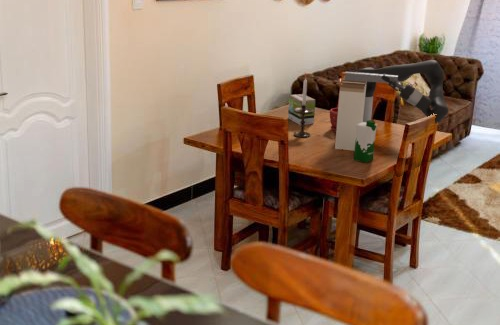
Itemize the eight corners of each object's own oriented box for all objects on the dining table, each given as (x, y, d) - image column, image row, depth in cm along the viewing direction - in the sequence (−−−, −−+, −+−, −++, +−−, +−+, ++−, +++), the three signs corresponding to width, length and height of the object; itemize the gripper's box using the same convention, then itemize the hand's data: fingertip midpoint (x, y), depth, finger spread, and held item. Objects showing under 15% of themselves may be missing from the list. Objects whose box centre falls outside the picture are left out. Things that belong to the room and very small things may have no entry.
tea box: (287, 118, 404) (288, 94, 399) (302, 117, 408) (303, 93, 404) (299, 125, 391) (300, 100, 387) (314, 124, 396) (316, 99, 391)
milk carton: (366, 163, 329) (370, 124, 323) (350, 159, 335) (354, 120, 328) (375, 159, 336) (379, 120, 329) (359, 155, 341) (363, 117, 335)
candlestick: (301, 139, 365) (305, 74, 353) (287, 134, 373) (291, 71, 361) (315, 136, 371) (320, 72, 360) (302, 131, 379) (306, 69, 368)
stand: (361, 138, 371) (367, 77, 360) (358, 151, 349) (364, 86, 338) (339, 136, 373) (344, 75, 362) (334, 148, 351) (340, 84, 340)
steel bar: (397, 82, 341) (398, 75, 340) (397, 83, 338) (397, 76, 336) (345, 78, 346) (345, 71, 345) (344, 79, 343) (345, 72, 341)
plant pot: (351, 128, 390) (353, 107, 386) (352, 134, 378) (354, 113, 374) (328, 126, 391) (330, 106, 387) (328, 132, 379) (330, 112, 375)
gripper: (415, 85, 345) (387, 66, 345) (415, 91, 332) (386, 72, 332) (406, 97, 347) (378, 78, 348) (406, 104, 334) (377, 84, 334)
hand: (382, 75), depth 340 cm, fingers closed on steel bar, 3 cm apart
